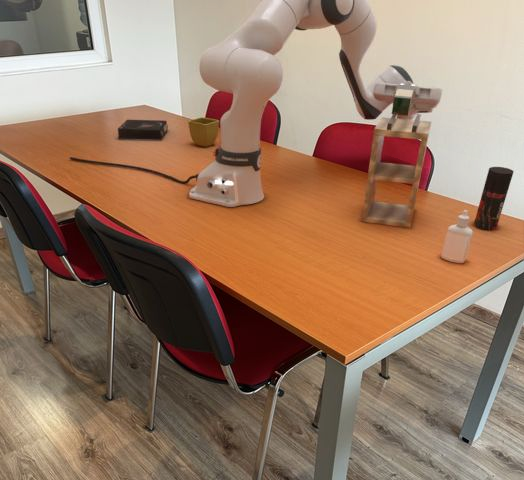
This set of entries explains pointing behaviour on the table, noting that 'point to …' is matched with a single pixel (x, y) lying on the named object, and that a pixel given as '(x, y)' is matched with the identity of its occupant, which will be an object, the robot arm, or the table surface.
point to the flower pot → (203, 131)
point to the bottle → (403, 98)
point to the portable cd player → (142, 130)
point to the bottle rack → (394, 171)
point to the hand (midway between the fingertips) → (407, 86)
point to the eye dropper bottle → (457, 240)
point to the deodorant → (493, 198)
